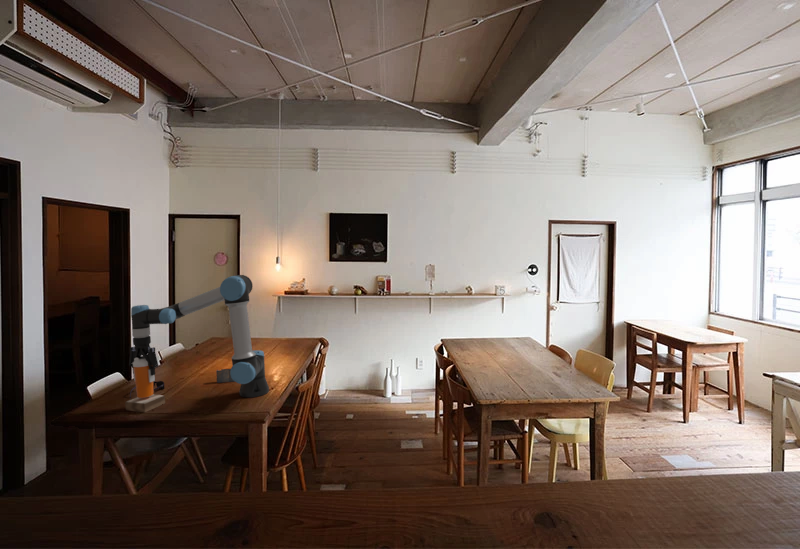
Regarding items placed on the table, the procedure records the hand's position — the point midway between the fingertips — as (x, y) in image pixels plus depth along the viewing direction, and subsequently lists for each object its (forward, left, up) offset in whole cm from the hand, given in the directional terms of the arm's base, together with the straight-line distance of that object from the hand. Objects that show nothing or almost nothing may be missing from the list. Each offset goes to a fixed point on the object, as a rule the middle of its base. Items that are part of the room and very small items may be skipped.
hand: (144, 380), depth 209 cm
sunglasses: (+17, -17, -14) cm, 28 cm away
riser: (0, 0, -13) cm, 13 cm away
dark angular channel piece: (-13, -44, -14) cm, 48 cm away
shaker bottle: (0, 0, -8) cm, 8 cm away
